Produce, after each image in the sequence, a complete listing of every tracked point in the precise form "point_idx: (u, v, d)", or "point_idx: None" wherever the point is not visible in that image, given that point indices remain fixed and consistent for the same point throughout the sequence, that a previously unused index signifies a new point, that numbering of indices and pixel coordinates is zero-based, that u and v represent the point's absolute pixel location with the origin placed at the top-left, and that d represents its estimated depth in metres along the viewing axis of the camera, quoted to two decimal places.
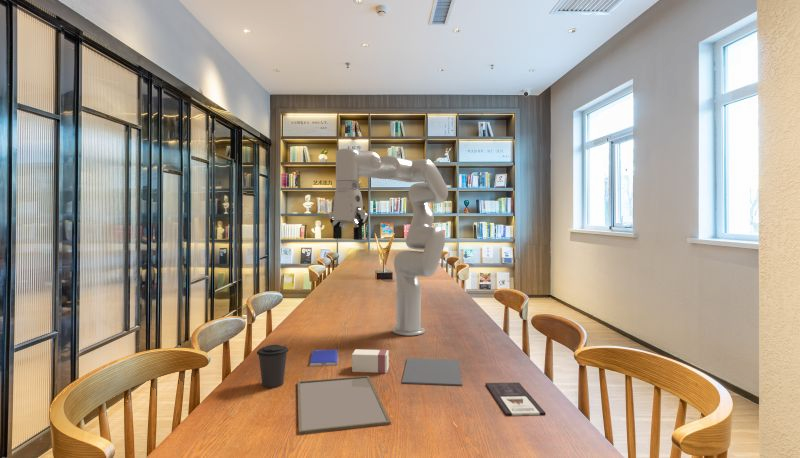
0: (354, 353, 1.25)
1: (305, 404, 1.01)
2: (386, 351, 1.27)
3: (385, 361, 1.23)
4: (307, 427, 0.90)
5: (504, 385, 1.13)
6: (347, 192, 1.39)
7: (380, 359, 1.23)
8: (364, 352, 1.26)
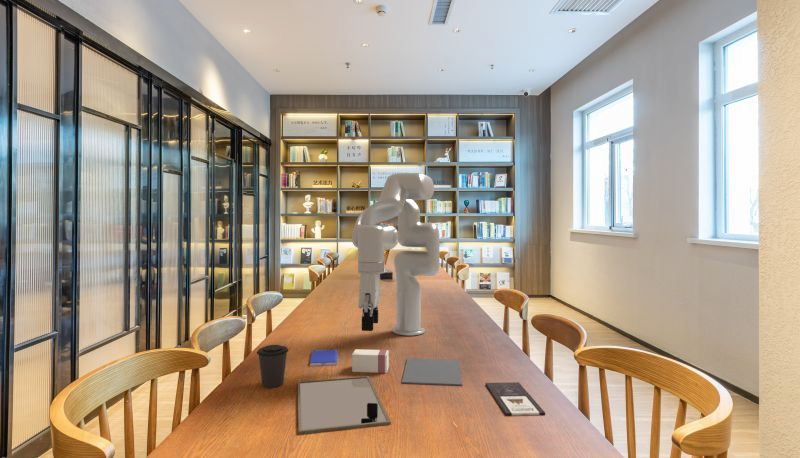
0: (354, 353, 1.25)
1: (305, 404, 1.01)
2: (386, 351, 1.27)
3: (385, 361, 1.23)
4: (307, 427, 0.90)
5: (504, 385, 1.13)
6: None
7: (380, 359, 1.23)
8: (364, 352, 1.26)
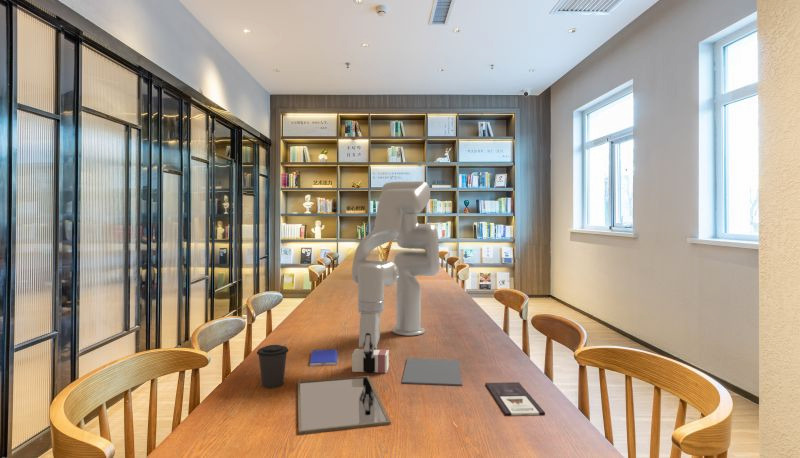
0: (354, 353, 1.25)
1: (305, 404, 1.01)
2: (386, 351, 1.27)
3: (385, 361, 1.23)
4: (307, 427, 0.90)
5: (503, 385, 1.13)
6: None
7: (380, 359, 1.23)
8: None
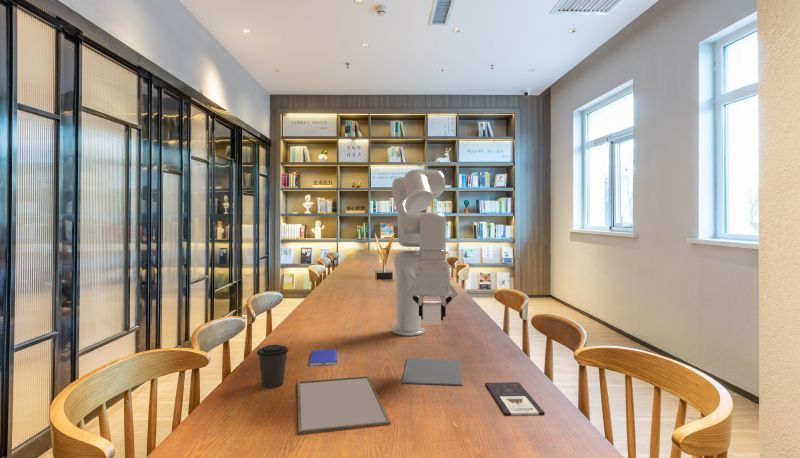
0: (437, 306, 1.20)
1: (305, 404, 1.01)
2: (428, 299, 1.29)
3: None
4: (307, 427, 0.90)
5: (503, 385, 1.13)
6: None
7: None
8: (432, 303, 1.22)
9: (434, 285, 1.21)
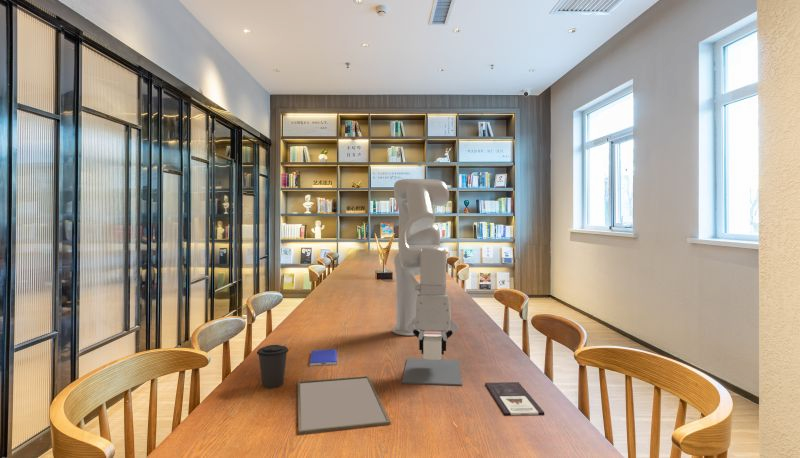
0: (438, 341, 1.20)
1: (305, 404, 1.01)
2: (429, 332, 1.29)
3: None
4: (307, 427, 0.90)
5: (503, 385, 1.13)
6: None
7: (441, 337, 1.27)
8: (433, 338, 1.22)
9: (435, 320, 1.21)
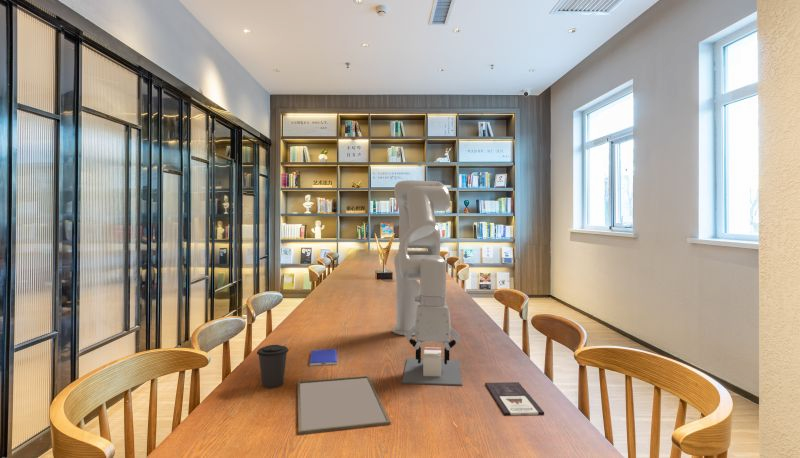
0: (438, 357, 1.20)
1: (305, 404, 1.01)
2: (429, 347, 1.29)
3: None
4: (307, 427, 0.90)
5: (503, 385, 1.13)
6: None
7: (441, 353, 1.28)
8: (433, 354, 1.23)
9: (434, 331, 1.22)
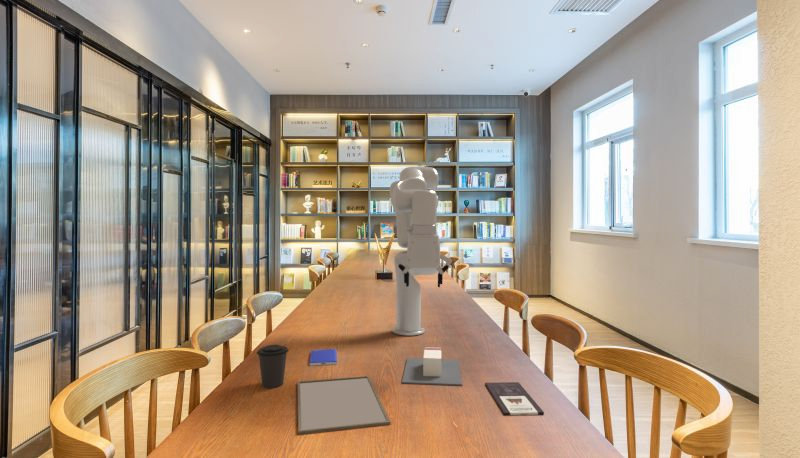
0: (438, 357, 1.20)
1: (305, 404, 1.01)
2: (429, 347, 1.29)
3: None
4: (307, 427, 0.90)
5: (503, 385, 1.13)
6: None
7: (441, 353, 1.28)
8: (433, 354, 1.23)
9: (425, 258, 1.29)
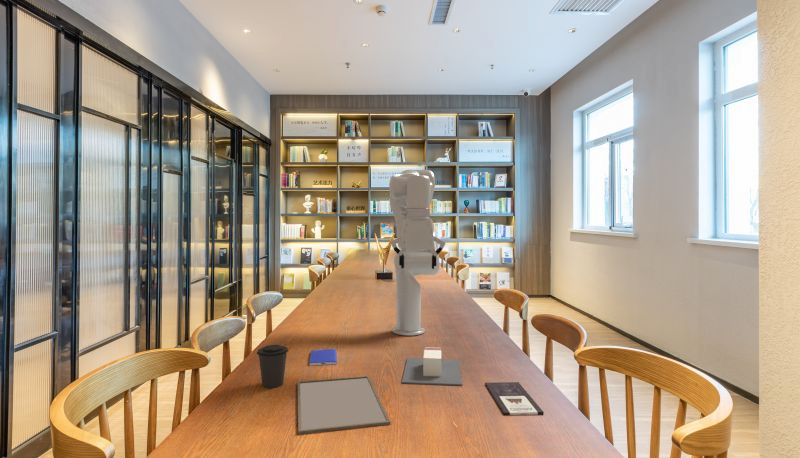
0: (438, 357, 1.20)
1: (305, 404, 1.01)
2: (429, 347, 1.29)
3: None
4: (307, 427, 0.90)
5: (503, 385, 1.13)
6: None
7: (441, 353, 1.28)
8: (433, 354, 1.23)
9: (419, 240, 1.34)
